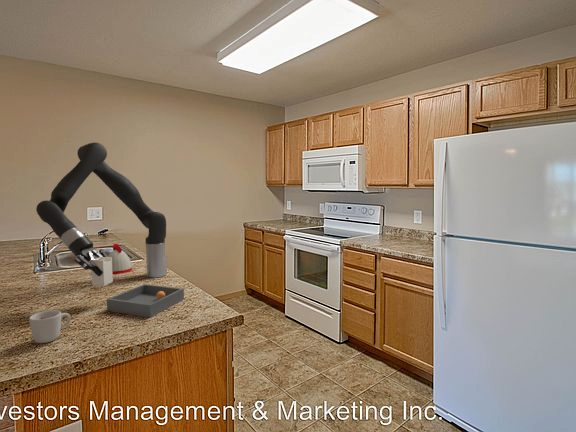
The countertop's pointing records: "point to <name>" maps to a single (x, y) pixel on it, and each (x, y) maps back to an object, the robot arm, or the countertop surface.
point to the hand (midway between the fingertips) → (106, 272)
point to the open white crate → (106, 268)
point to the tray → (145, 300)
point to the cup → (47, 325)
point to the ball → (160, 295)
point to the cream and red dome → (120, 260)
